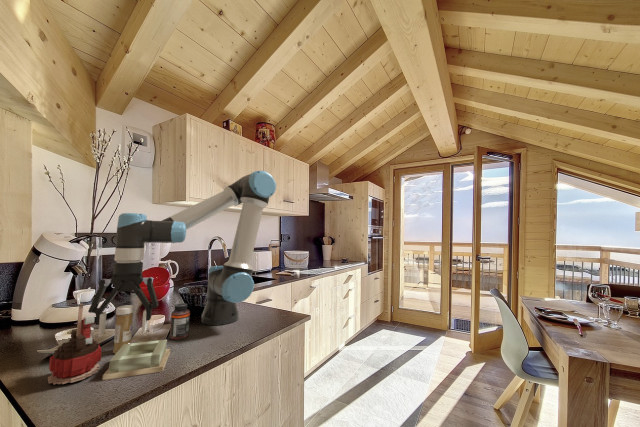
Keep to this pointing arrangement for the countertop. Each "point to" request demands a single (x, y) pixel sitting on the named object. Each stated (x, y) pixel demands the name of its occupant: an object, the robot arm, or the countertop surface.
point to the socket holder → (138, 359)
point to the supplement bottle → (179, 322)
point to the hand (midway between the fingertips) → (123, 333)
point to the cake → (76, 354)
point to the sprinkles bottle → (123, 326)
